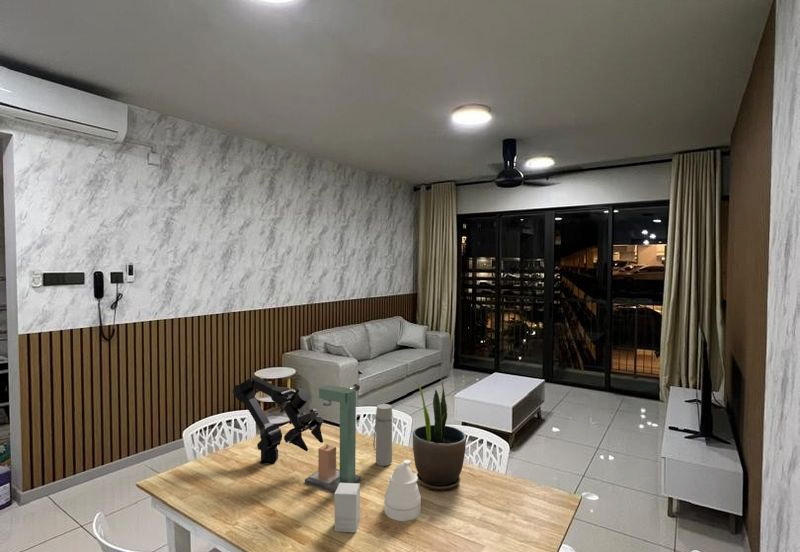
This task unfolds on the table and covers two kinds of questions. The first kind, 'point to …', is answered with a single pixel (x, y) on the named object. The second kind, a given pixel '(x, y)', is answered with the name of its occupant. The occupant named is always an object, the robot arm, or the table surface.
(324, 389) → the arbor press
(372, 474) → the table surface
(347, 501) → the supplement box
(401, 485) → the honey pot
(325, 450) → the block
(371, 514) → the table surface
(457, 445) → the potted plant
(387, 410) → the water bottle
